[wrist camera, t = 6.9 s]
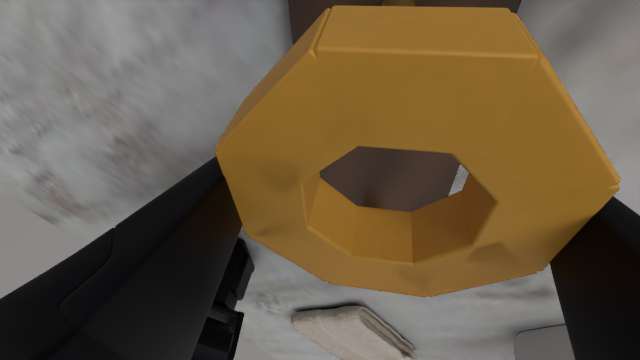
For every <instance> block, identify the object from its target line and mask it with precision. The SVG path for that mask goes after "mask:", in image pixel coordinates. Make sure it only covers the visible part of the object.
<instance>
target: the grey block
mask: <svg viewBox="0 0 640 360" xmlns="http://www.w3.org/2000/svg"><path fill="white" fill-rule="evenodd" d="M514 353H515V360H575V358H574V354H573V350H572V346H571V342H570V339H569V335H568V331H567V327H566V325H560V326H554V327H548V328H542V329H536V330H529V331H524V332H521V333H519V334H518V335H517V336H516V337H515V339H514Z"/></svg>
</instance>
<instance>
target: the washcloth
mask: <svg viewBox="0 0 640 360" xmlns="http://www.w3.org/2000/svg"><path fill="white" fill-rule="evenodd" d="M291 324H292V325H293V327H294V328H295V329H296V330H297V331H299V332H300V333H301V334H303V335H305V336H306V337H308V338H310V339H311V340H312V341H314V343H316V344H317V345H319V346H320V347H322V348H324V349H325V350H327V351H329V352H330V353H331V354H333V355H336V356H337V357H338V358H340V359H341V360H414V359H417V355H416V353H415V352H414V351H413V349H414V348H413V346H412V345H411V344H410V343H409V342H407V341H406V340H405V339H402V338H401V336H400V335H399V334H398V333H397V332H396V331H394V330H393V329H392V328H391V327H390V326H388V325H387V324H386V323H384V322H383V321H382V320H381V319H380V318H379V317H377V316H376V315H375V314H374V313H373V312H371V311H370V310H369V309H367V308H365V307H362V306H344V307H338V308H336V309H325V310H322V309H317V310H308V311H302V312H297V313H294V314H293V315H291Z"/></svg>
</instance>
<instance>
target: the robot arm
mask: <svg viewBox="0 0 640 360" xmlns="http://www.w3.org/2000/svg"><path fill="white" fill-rule="evenodd" d="M241 227H242V222H241V219H240V216H239V213H238V211H237V208H236V205H235V203H234V200H233V197H232V194H231V192H230V189H229V186H228V183H227V181H226V178H225V176H224V175H223V173H222V170H221V167H220V165H219V162H218V159H217V157H216V156H215V157H214V158H213V159H211V160H210V161H208V162H207V163H205V164H204V165H202V166H201V167H200V168H198V169H197V170H195V171H194V172H192V173H191V174H189V175H188V176H187V177H185V178H184V179H182V180H181V181H179V182H178V183H177V184H175V185H174V186H172V187H171V188H169V189H168V190H166V191H165V192H164V193H162V194H161V195H159V196H158V197H156V198H155V199H153V200H152V201H151V202H149V203H148V204H146V205H145V206H143V207H142V208H141V209H139V210H138V211H136V212H135V213H133V214H132V215H130V216H129V217H128V218H126V219H125V220H123V221H122V222H120V223H119V224H117V225H116V226H115V228H112V229H110V230H109V231H107V232H106V233H104V234H103V235H101V236H100V237H99V238H97V239H96V240H94V241H93V242H91V243H90V244H88V245H87V246H85V247H84V248H82V249H81V250H79V251H78V252H76V253H75V254H73V255H72V256H70V257H68V258H67V259H65V260H63V261H62V262H60V263H59V264H57V265H55V266H54V267H52V268H51V269H49V270H47V271H46V272H44V273H43V274H41V275H39V276H38V277H36V278H34V279H33V280H31V281H29V282H28V283H26V284H24V285H23V286H21V287H19V288H18V289H16V290H14V291H13V292H11V293H9V294H8V295H6V296H4V297H3V298H1V299H0V360H233V358H234V355H235V351H236V347H237V343H238V338H239V334H240V330H241V326H242V322H243V317H244V313H243V312H240V311H239V312H237V311H235V310H234V308H235V306H236V303H237V300H240V301H241V300H242V299H243V297H244V294H245V291H246V288H247V285H248V282H249V280H250V277H251V274H252V272H253V271H254V265H253V262H252V260H251V257H250V255H249V253H248V250H247V247H246V245H245V242H244V241H243V240H242V239H238V235H239V233H240V230H241ZM550 266H551V270H552V274H553V278H554V282H555V286H556V289H557V293H558V297H559V301H560V305H561V308H562V312H563V316H564V320H565V324H566V327H567V331H568V335H569V339H570V342H571V346H572V350H573V354H574V358H575V360H640V216H639V215H638V214H637V213H635V212H634V211H633V210H631V209H630V208H629V207H627V206H626V205H625V204H623V203H622V202H620V201H619V200H618V199H616V198H615V197H614V196H612V197H611V199H610V200H609V201H608V202H607V203H606V204H605V205H604V206H603V207H602V208H601V209H600V210H599V211H598V212H597V213H596V214H595V215H593V216H592V218H591V219H590V220H589V221H588V222H587V223H586V224H585V225H584V226H583V227H582V228H581V229H580V230H579V231H578V232H577V233H576V235H575V236H574V237H573V238H572V239H571V240H570V241H569V242H568V243H567V244H566V245H565V246H564V247H563V248H562V249H561V250H560V252H559V253H558V254H557V255H556V256H555V257H554V258H553V259H552V260H551V261H550Z"/></svg>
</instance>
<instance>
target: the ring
mask: <svg viewBox="0 0 640 360" xmlns="http://www.w3.org/2000/svg"><path fill="white" fill-rule="evenodd" d="M357 146H362V147H375V148H387V149H400V150H412V151H425V152H437V153H450V154H452V155H453V156H454V157H455V159H456V160H457V161H458V162H459V163H460V164H461V165H462V166H463V167H464V168H465V169H466V170H467V171H468V172H469V175H468V177H467V179H466V182H465V184H464V187H463V189H462V191H460V192H457V193H455V194H453V195H450V196H448V197H446V198H443V199H441V200H439V201H436V202H434V203H432V204H429V205H427V206H425V207H422V208H420V209H418V210H415V211H413V212H409V211H399V210H390V209H381V208H372V207H362V206H357V205H355V204H354V203H353V202H351V201H350V200H349V199H347V198H346V197H345V196H344V195H342V194H341V193H340V192H338V191H337V190H336V189H335V188H333V187H332V186H331V185H329V184H328V183H327V182H325V181H324V180H323V179H322V178H320V171H321V170H322V169H324V168H325V167H327V166H328V165H330V164H331V163H333V162H335V161H336V160H338V159H339V158H341V157H342V156H344V155H345V154H347V153H348V152H350V151H351V150H353V149H354V148H356V147H357ZM215 154H216V157H217V159H218V162H219V165H220V167H221V170H222V173H223V175H224V176H225V178H226V181H227V183H228V186H229V189H230V192H231V194H232V197H233V200H234V203H235V205H236V208H237V211H238V213H239V216H240V219H241V222H242V227H243V229H244V232H245V234H247V235H248V236H249V237H251V238H252V239H254V240H256V241H257V242H259V243H261V244H262V245H264V246H266V247H267V248H269V249H271V250H272V251H274V252H276V253H278V254H279V255H281V256H283V257H284V258H286V259H288V260H289V261H291V262H293V263H294V264H296V265H298V266H299V267H301V268H303V269H304V270H306V271H308V272H309V273H311V274H313V275H314V276H316V277H318V278H319V279H321V280H323V281H328V283H330V284H337V285H344V286H351V287H357V288H364V289H371V290H378V291H385V292H392V293H398V294H405V295H412V296H419V297H427V296H429V297H433V296H437V295H442V294H446V293H451V292H455V291H460V290H464V289H469V288H473V287H478V286H482V285H487V284H491V283H496V282H500V281H505V280H509V279H514V278H518V277H523V276H527V275H532V274H535V273H537V271H543V270H544V269H545V267H546V266H547V265H548V264H549V263H550V261H551V260H552V259H553V258H554V257H555V256H556V255H557V254H558V253H559V252H560V250H561V249H562V248H563V247H564V246H565V245H566V244H567V243H568V242H569V241H570V240H571V239H572V238H573V237H574V236H575V235H576V233H577V232H578V231H579V230H580V229H581V228H582V227H583V226H584V225H585V224H586V223H587V222H588V221H589V220H590V219H591V218H592V216H593V215H595V214H596V213H597V212H598V211H599V210H600V209H601V208H602V207H603V206H604V205H605V204H606V203H607V202H608V201H609V200H610V199H611V197H612V196H613V195H614V194H615V193H616V192H617V191H618V190H619V188H620V186H619V183H620V176H619V175H618V173H617V172H616V170H615V168H614V167H613V165H612V163H611V162H610V160H609V159H608V157H607V155H606V154H605V152H604V151H603V149H602V147H601V146H600V144H599V142H598V141H597V139H596V138H595V136H594V134H593V133H592V131H591V130H590V128H589V126H588V125H587V123H586V121H585V120H584V118H583V117H582V115H581V113H580V112H579V110H578V109H577V107H576V105H575V104H574V102H573V100H572V99H571V97H570V96H569V94H568V92H567V91H566V89H565V88H564V86H563V84H562V83H561V81H560V79H559V78H558V76H557V75H556V73H555V71H554V70H553V68H552V67H551V65H550V63H549V62H548V60H547V58H546V57H545V55H544V54H543V52H542V51H541V50H540V48H539V47H538V45H537V44H536V42H535V41H534V39H533V38H532V36H531V35H530V33H529V32H528V30H527V29H526V27H525V26H524V24H523V23H522V21H521V20H520V18H519V17H518V15H517V14H515V13H511V11H510V10H509V9H508V8H483V7H411V6H339V5H335V6H333V7H332V9H329V8H328V9H326V10H325V11H324V12H323V13H322V14H321V15H320V16H319V18H318V19H317V20H316V21H315V22H314V23H313V24H312V25H311V26H310V28H309V29H308V30H307V31H306V32H305V33H304V34H303V35H302V36H301V38H300V39H299V40H298V41H297V42H296V43H295V44H294V45H293V46H292V47H291V49H290V50H289V51H288V52H287V53H286V54H285V55H284V56H283V57H282V59H281V60H280V61H279V62H278V63H277V64H276V65H275V66H274V67H273V69H272V70H271V71H270V72H269V73H268V74H267V75H266V76H265V77H264V79H263V80H262V81H261V82H260V83H259V84H258V85H257V86H256V87H255V89H254V90H253V91H252V92H251V93H250V94H249V95H248V96H247V97H246V98H245V100H244V101H243V103H242V104H241V106H240V107H239V109H238V111H237V112H236V114H235V116H234V117H233V119H232V121H231V122H230V124H229V125H228V127H227V129H226V130H225V132H224V134H223V135H222V137H221V138H220V140H219V142H218V143H217V145H216V150H215Z"/></svg>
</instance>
